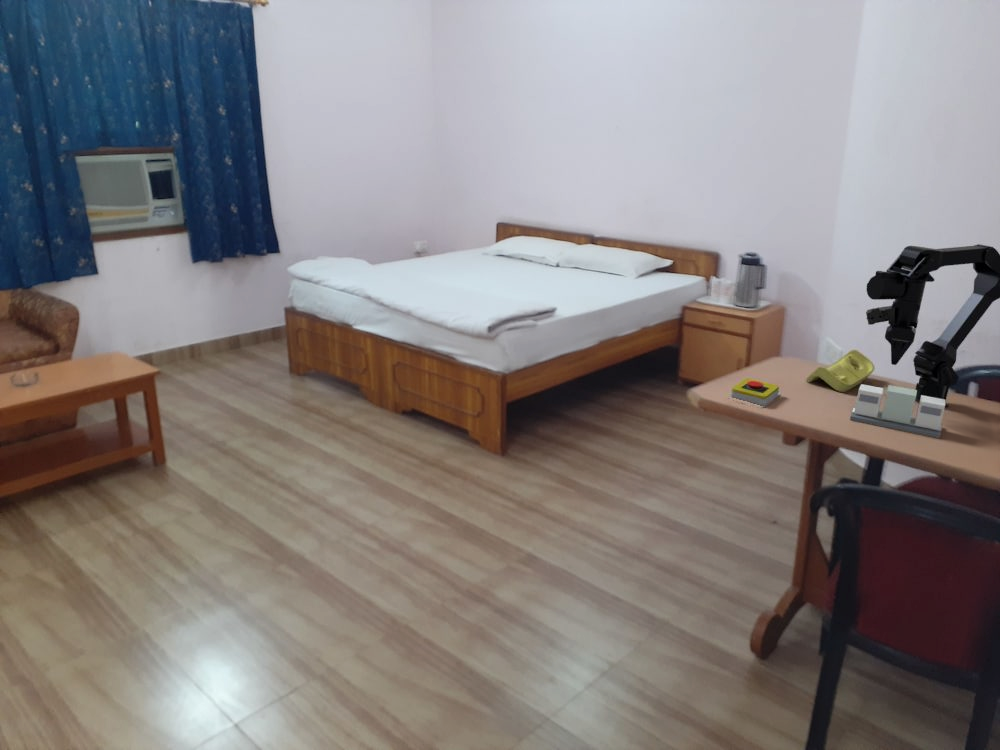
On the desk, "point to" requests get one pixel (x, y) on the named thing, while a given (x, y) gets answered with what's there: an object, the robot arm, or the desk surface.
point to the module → (899, 404)
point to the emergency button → (755, 392)
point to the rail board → (870, 414)
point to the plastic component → (845, 371)
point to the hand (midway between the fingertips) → (895, 360)
